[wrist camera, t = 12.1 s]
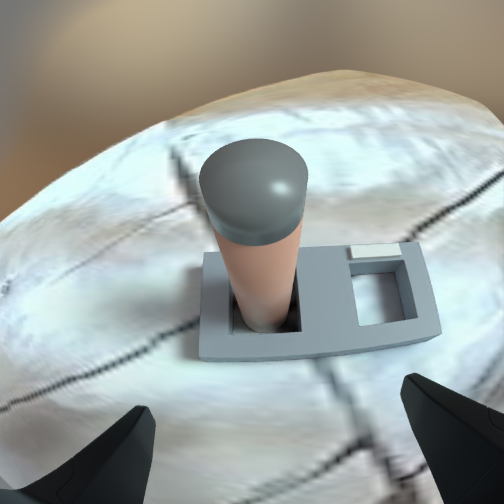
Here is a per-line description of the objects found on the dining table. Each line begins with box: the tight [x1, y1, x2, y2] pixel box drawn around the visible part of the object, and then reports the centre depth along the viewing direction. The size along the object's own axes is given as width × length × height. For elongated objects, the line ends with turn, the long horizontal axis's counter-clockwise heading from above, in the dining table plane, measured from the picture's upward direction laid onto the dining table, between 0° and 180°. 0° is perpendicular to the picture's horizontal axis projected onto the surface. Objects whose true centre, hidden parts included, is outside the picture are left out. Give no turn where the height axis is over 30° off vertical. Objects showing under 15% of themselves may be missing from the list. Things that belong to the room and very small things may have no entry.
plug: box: [199, 139, 308, 333], centre depth 17 cm, size 4×4×16 cm
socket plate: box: [199, 242, 442, 362], centre depth 22 cm, size 20×9×3 cm, turn 91°
